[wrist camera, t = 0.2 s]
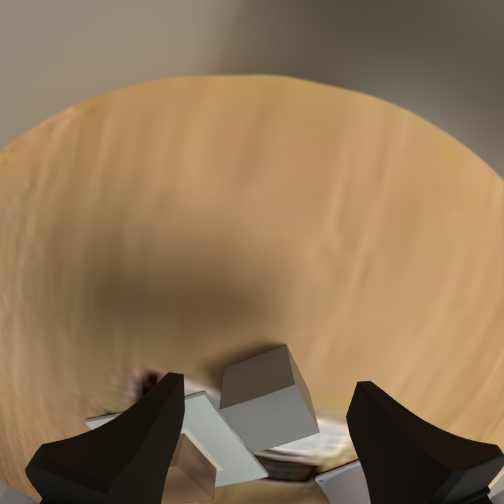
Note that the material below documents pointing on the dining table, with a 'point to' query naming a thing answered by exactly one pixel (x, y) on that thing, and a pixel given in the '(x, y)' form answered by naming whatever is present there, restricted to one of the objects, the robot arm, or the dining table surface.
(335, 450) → the dining table surface
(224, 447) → the pale grey square board
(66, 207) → the dining table surface
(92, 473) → the robot arm
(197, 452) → the walnut base
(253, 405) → the grey block
